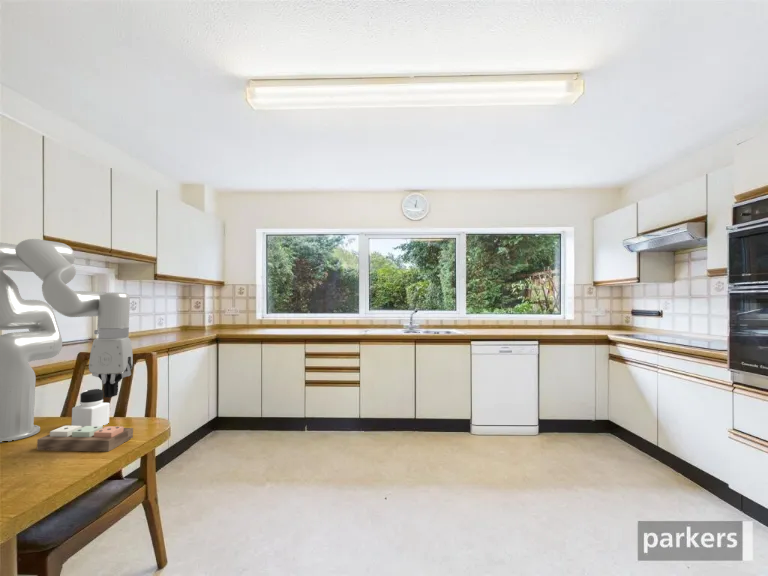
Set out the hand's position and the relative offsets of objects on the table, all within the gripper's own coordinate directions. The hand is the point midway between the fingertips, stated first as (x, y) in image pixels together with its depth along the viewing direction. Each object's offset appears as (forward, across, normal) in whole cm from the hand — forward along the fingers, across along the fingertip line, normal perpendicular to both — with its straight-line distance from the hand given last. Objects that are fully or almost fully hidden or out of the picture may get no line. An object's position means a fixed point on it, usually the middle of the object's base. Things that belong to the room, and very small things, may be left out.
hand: (110, 396), depth 109 cm
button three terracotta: (+12, 0, 0) cm, 12 cm away
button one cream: (+12, -13, 0) cm, 17 cm away
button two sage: (+12, -6, 0) cm, 14 cm away
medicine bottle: (+14, -16, +14) cm, 26 cm away
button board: (+14, -6, 0) cm, 15 cm away
